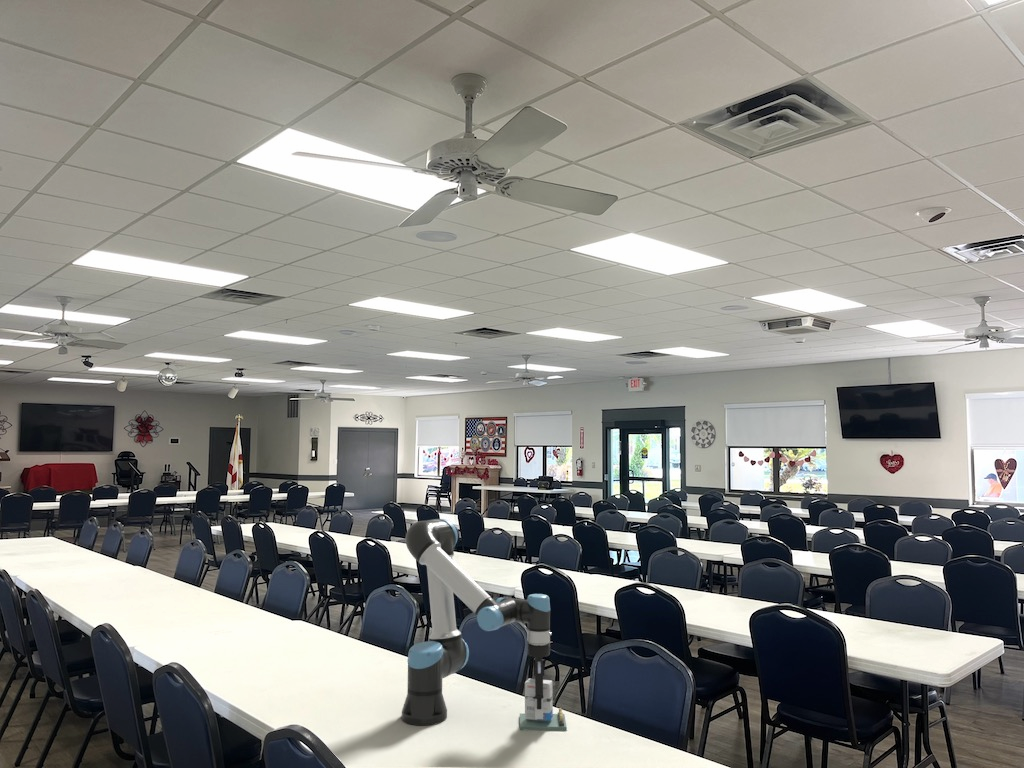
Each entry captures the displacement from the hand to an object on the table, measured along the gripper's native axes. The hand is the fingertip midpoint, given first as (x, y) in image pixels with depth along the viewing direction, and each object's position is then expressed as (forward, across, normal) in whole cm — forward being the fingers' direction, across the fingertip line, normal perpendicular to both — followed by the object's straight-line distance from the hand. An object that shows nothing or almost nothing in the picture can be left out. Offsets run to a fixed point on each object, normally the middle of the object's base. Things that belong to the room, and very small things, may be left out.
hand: (538, 715), depth 237 cm
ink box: (+1, 0, 0) cm, 1 cm away
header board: (+3, 0, -1) cm, 3 cm away
